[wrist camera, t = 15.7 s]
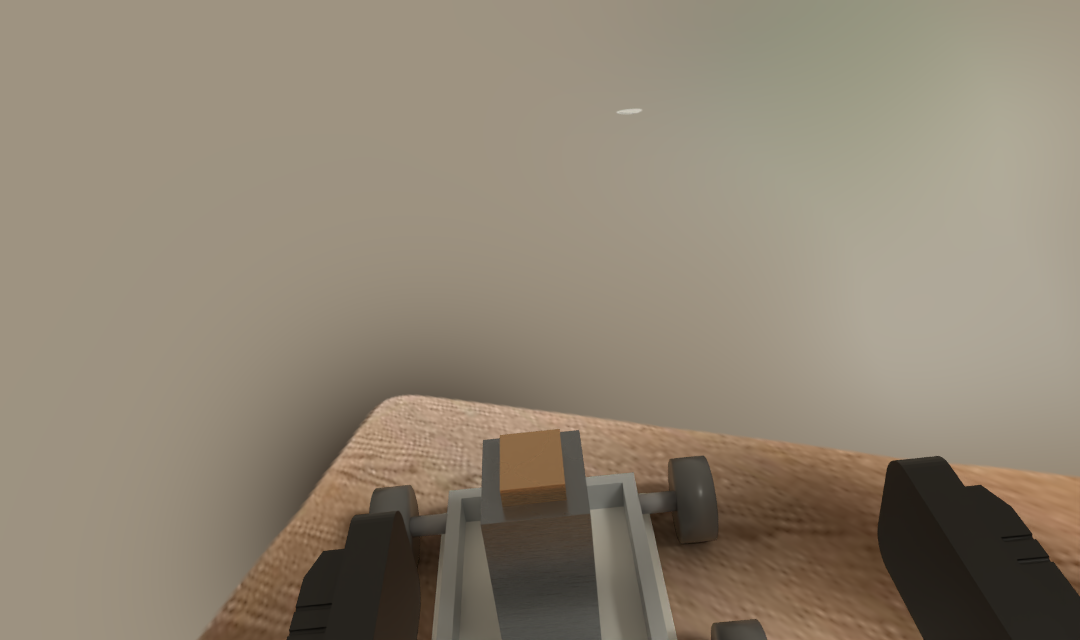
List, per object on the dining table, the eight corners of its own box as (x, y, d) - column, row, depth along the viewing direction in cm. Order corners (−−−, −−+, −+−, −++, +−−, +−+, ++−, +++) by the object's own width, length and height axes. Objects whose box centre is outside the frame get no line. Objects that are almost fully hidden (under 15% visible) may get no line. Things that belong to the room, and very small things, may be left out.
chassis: (699, 499, 51) (700, 438, 49) (778, 758, 36) (784, 690, 34) (392, 529, 51) (376, 471, 49) (347, 798, 37) (322, 734, 34)
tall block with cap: (591, 565, 46) (577, 414, 40) (602, 655, 41) (589, 496, 35) (505, 574, 46) (480, 424, 40) (506, 664, 41) (477, 508, 35)
